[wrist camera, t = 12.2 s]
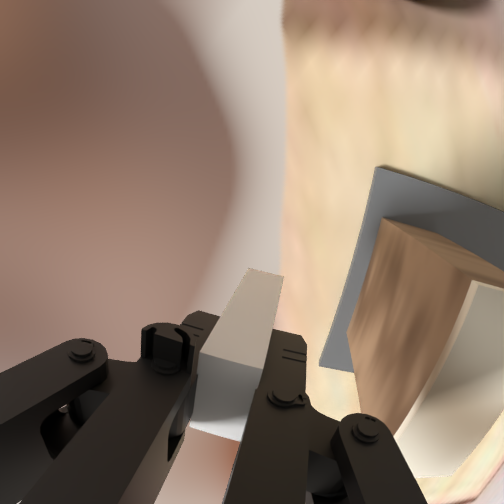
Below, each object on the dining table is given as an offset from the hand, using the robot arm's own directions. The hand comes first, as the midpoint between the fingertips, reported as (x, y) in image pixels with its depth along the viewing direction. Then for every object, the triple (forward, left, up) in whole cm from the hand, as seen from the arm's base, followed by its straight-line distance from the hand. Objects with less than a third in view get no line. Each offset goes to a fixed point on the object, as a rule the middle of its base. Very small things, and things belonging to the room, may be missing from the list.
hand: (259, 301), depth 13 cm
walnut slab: (0, +8, -7) cm, 10 cm away
